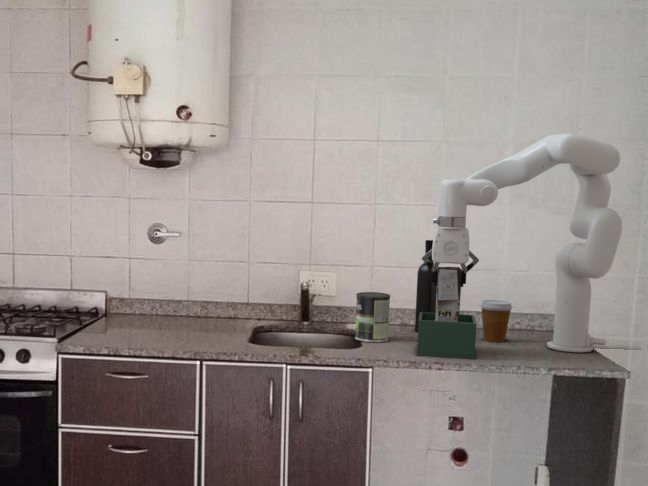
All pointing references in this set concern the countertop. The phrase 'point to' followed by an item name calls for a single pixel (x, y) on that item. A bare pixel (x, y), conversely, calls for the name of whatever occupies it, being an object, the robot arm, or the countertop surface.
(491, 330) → the disposable coffee cup
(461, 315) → the green storage bin
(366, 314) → the coffee can
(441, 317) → the coffee box
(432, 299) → the wine bottle
